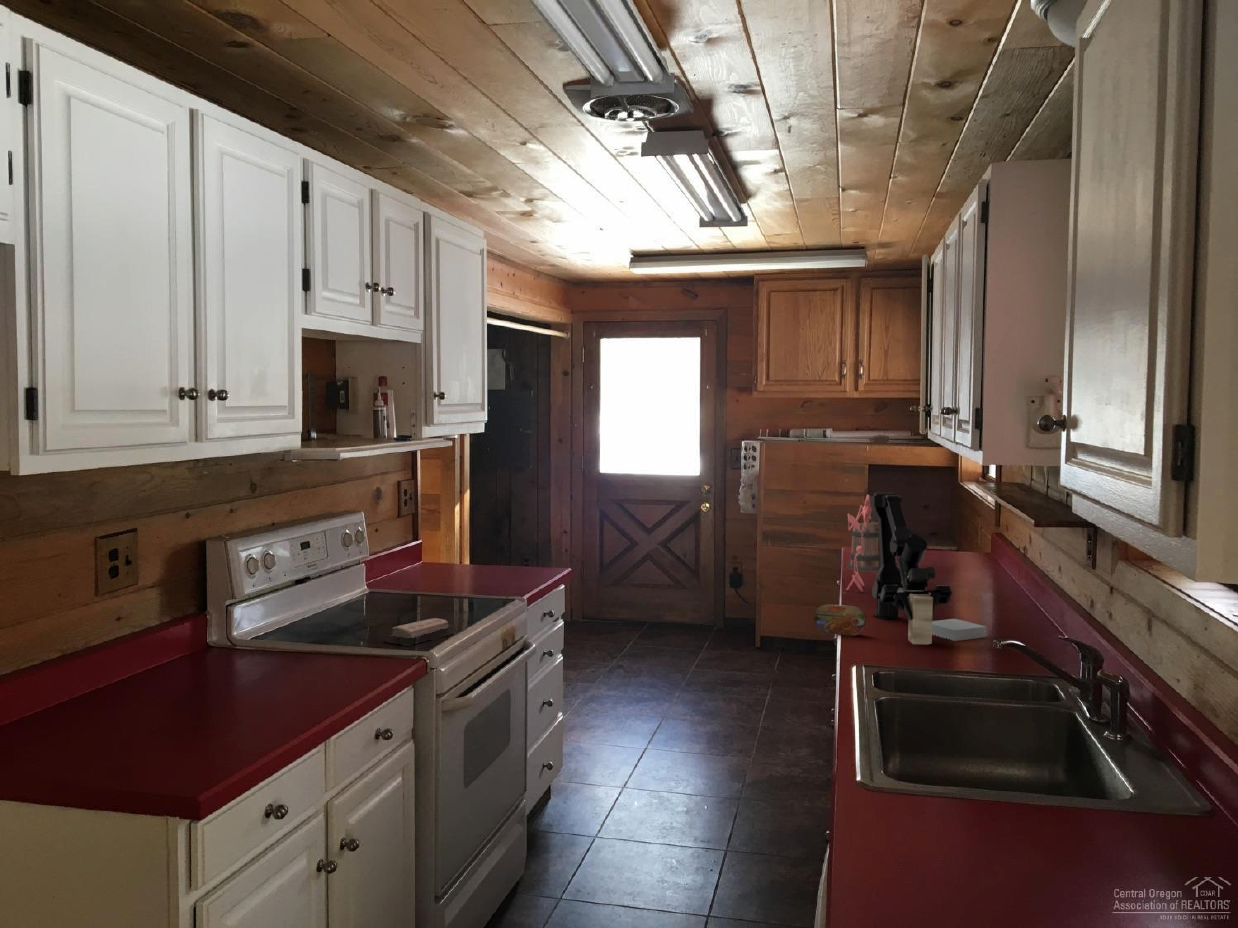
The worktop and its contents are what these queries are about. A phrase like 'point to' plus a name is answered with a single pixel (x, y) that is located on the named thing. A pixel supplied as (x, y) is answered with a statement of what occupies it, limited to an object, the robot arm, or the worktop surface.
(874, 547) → the tankard
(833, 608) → the tin
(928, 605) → the birch block
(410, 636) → the packaged product
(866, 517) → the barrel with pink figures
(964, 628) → the plinth
